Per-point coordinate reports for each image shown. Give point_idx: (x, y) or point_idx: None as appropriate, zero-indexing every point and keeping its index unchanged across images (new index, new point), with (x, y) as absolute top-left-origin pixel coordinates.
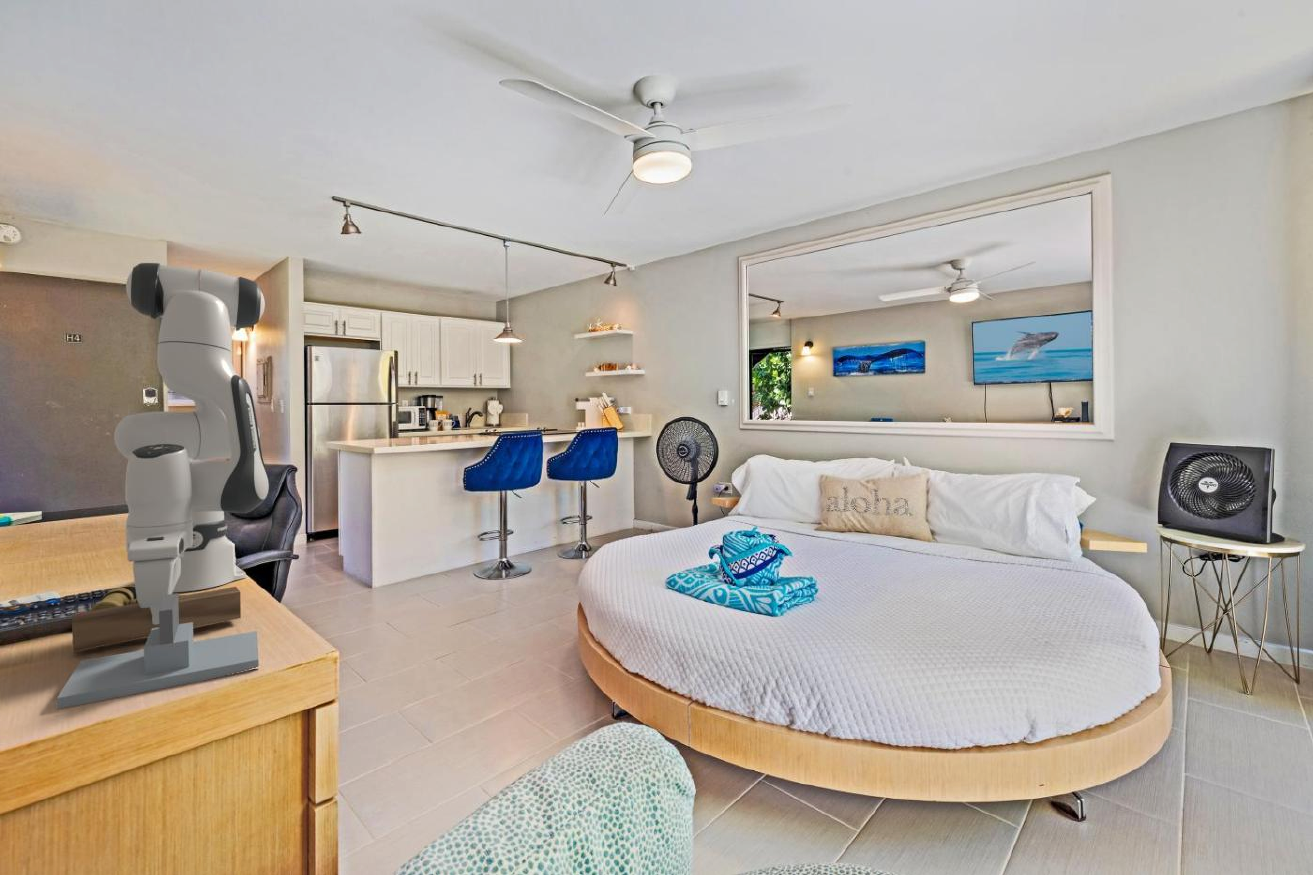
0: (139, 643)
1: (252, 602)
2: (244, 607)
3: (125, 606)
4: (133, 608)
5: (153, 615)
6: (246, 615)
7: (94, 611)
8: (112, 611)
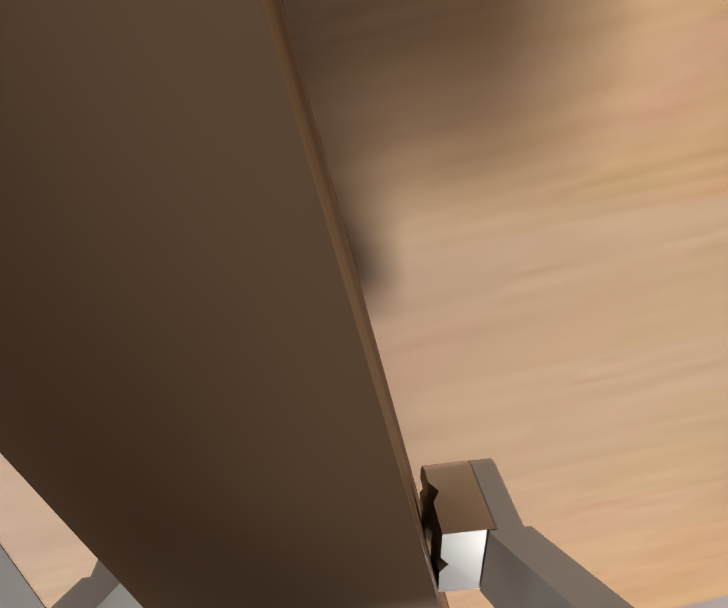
0: None
1: (654, 588)
2: (599, 579)
3: (295, 413)
4: (154, 507)
5: (99, 571)
6: (466, 603)
7: (145, 1)
8: (60, 323)
